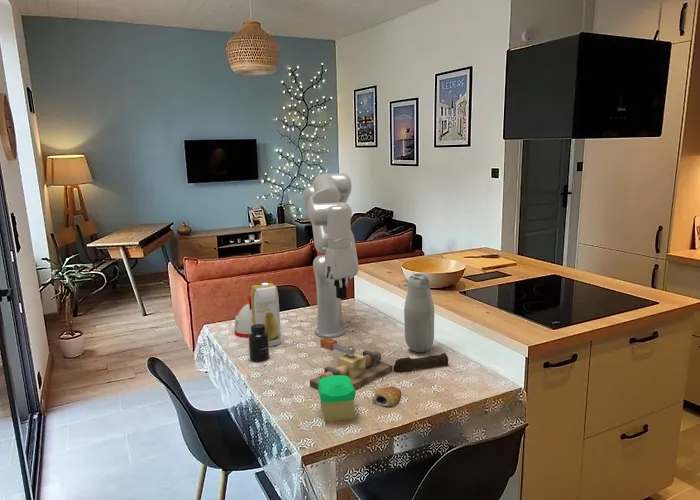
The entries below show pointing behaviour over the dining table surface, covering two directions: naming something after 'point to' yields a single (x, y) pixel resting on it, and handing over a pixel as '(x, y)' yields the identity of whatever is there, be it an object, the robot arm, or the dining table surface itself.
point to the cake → (336, 397)
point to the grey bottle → (419, 314)
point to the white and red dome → (244, 321)
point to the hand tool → (419, 363)
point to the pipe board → (364, 376)
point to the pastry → (387, 396)
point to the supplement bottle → (258, 343)
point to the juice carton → (266, 310)
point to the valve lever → (336, 346)
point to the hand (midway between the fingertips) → (341, 298)
